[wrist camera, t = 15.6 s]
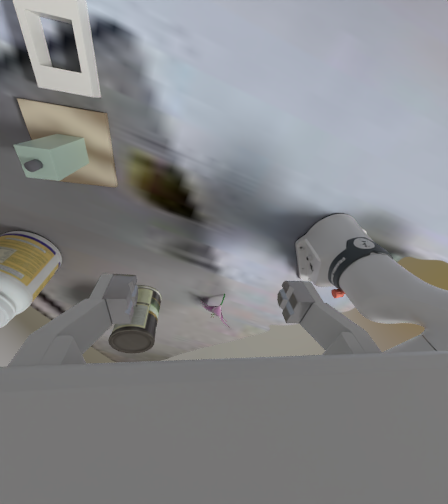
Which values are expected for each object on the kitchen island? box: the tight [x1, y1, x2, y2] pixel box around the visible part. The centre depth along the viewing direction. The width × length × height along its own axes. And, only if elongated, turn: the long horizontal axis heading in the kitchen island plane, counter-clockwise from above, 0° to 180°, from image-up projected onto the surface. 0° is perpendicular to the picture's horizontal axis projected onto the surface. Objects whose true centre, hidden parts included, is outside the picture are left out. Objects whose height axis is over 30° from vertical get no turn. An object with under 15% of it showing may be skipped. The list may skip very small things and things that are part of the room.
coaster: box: [17, 98, 118, 187], centre depth 35 cm, size 12×12×1 cm
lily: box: [201, 294, 230, 328], centre depth 61 cm, size 12×12×10 cm
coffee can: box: [109, 286, 162, 353], centre depth 54 cm, size 10×10×14 cm
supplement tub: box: [0, 231, 62, 328], centre depth 40 cm, size 12×12×17 cm
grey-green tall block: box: [14, 134, 89, 181], centre depth 30 cm, size 4×4×12 cm
